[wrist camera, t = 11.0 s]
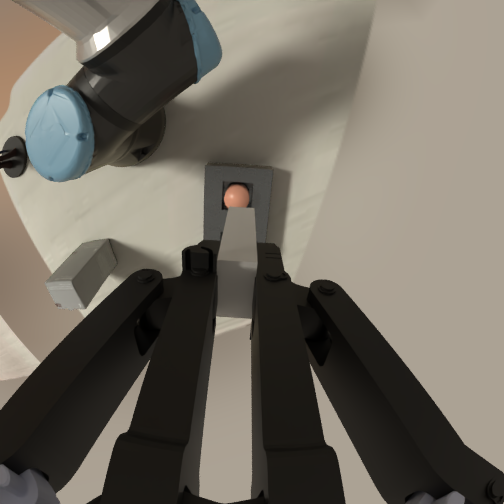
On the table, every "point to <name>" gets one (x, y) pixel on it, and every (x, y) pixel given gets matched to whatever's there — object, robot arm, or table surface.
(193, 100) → the table surface
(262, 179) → the panel
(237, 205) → the coral button
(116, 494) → the robot arm
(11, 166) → the figurine
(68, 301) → the skincare box
